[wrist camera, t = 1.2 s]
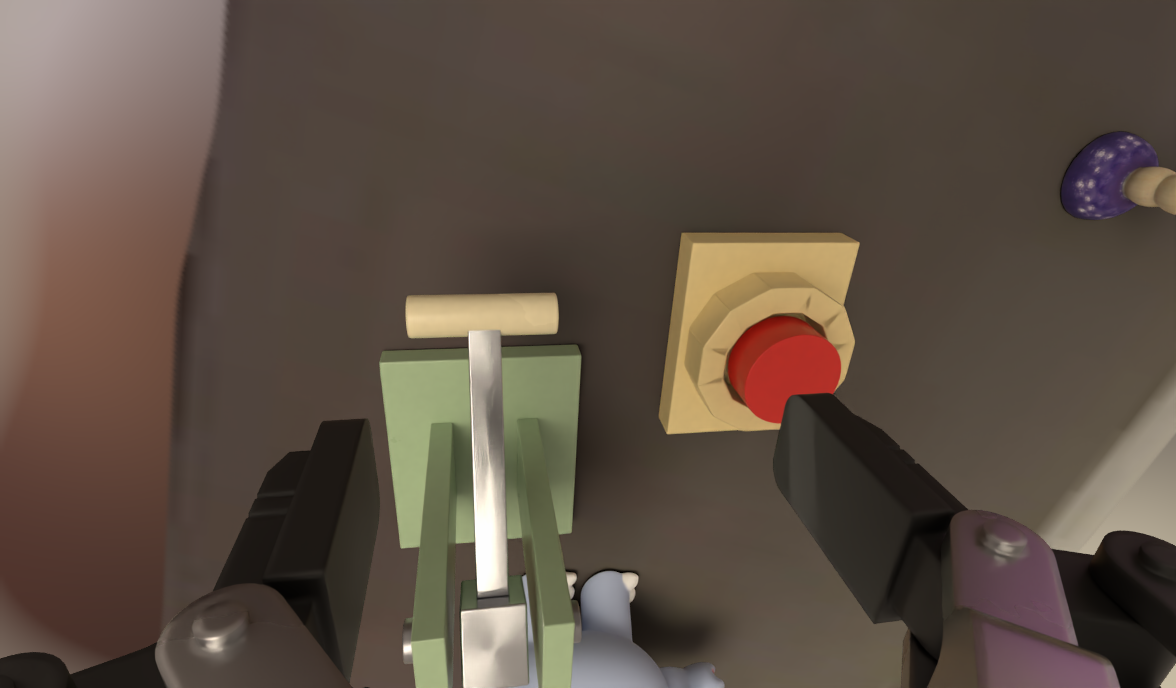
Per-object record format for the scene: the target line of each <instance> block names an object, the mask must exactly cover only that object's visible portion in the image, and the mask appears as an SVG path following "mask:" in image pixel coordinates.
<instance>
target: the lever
mask: <svg viewBox="0 0 1176 688" xmlns="http://www.w3.org/2000/svg"><path fill="white" fill-rule="evenodd" d="M558 324H559V309H558V300H557V296H556V294H555V293H509V294H450V295H409V296H407V299H406V327H407V334H408V336H409V338H436V337H468V357H469V387H470V417H471V447H472V477H473V507H474V537H475V567H476V580H466V581H462V582H461V595H460V640H461V669H462V688H509V687H517V686H524V685H528V684H529V654H528V621H527V602H526V596H525V591H524V585H523V580H522V576H521V575H516V576H509V573H508V541H507V509H506V477H505V445H504V413H503V381H502V349H501V336H504V335H537V334H556V333H557V331H558Z"/></svg>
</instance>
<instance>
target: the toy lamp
mask: <svg viewBox="0 0 1176 688" xmlns="http://www.w3.org/2000/svg"><path fill="white" fill-rule="evenodd" d="M1158 163H1159V161H1158V157H1157V154H1156V152H1155V150H1154V148H1153V147H1152V146H1151V145H1150V144H1149V143H1148V142H1147V141H1145V140H1144V139H1142V138H1141V137H1139V136H1137V135H1135V134H1132V133H1129V132H1120V131H1119V132H1113V133H1109V134H1106V135H1103V136H1101V137H1099V138H1097V139H1096V140H1094V141H1093V142H1091V143H1090V144H1089V145H1087V146H1086V147H1085V148H1084V149H1083V150H1082V151H1081V152H1080V153H1079V154H1078V156H1077V157H1076V158H1075V159H1074V160H1073V162H1072V164H1071V165H1070V167H1069V168H1068V170H1067V172H1066V175H1065V177H1064V180H1063V184H1062V188H1061V199H1062V203H1063V206H1064V208H1065V209H1066V211H1067V212H1068V213H1070V214H1071V215H1072V216H1074V217H1077V218H1081V219H1089V220H1100V219H1108V218H1113V217H1115V216H1118V215H1121V214H1123V213H1125V212H1127V211H1129V210H1130V209H1132V208H1133V207H1135V206H1136V205H1142V206H1147V207H1160V208H1161V209H1163V210H1164V211H1166V212H1168V213H1171V214H1174V215H1176V173H1175V172H1174V171H1172V170H1170V169H1167V168H1163V167H1159V165H1158Z"/></svg>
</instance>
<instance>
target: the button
mask: <svg viewBox="0 0 1176 688" xmlns="http://www.w3.org/2000/svg"><path fill="white" fill-rule="evenodd" d="M728 376H729V380H730V382H731V384H732V386H733V388H734V389H735V390H736V392H737V393H738V394H739V396H740V397H741V398H742V400H743V401H744V402H745V404H746V405H747V406H748V408H749V409H750V410H751V411H752V413H753V414H754V415H756V416H757V417H758V418H760V419H762V420H764V421H767V422H771V423H777V424H781V421H782V417H783V412H784V408H785V404H786V401H787V400H788V398H789V397H790V396H792V395H797V394H814V393H831V394H833V393H834V391H835V389H836V387H837V385H838V383H839V380H840V376H841V360H840V356H839V354H838V351H837V350H836V348H835V347H834V346H833V345H832V344H831V343H830V342H829V341H828V340H827V339H826V338H824V337H823V336H822V335H821V334H820V333H819V332H817V331H816V330H815V329H814V328H813V327H812V326H810V325H809V324H808V323H807V322H805V321H803V320H801V319H799V318H796V317H791V316H777V317H772V318H769V319H766V320H763V321H761V322H759V323H757V324H756V325H754V326H752V327H751V328H750V329H748V330H747V331H746V332H745V333H744V334H743V335H742V336H741V337H740V338H739V340H738V341H737V342H736V344H735V346H734V347H733V349H732V351H731V354H730V357H729V361H728Z"/></svg>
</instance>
